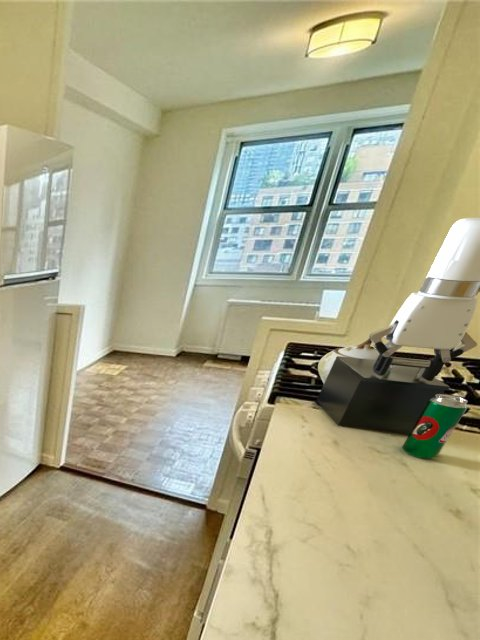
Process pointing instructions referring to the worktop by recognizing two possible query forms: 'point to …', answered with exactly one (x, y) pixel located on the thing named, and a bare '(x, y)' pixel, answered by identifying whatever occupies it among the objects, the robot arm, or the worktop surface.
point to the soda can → (434, 426)
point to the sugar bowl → (354, 352)
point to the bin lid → (393, 372)
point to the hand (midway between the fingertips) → (402, 375)
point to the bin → (372, 402)
